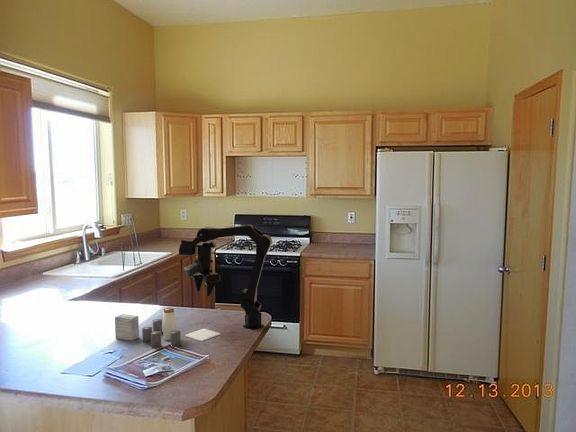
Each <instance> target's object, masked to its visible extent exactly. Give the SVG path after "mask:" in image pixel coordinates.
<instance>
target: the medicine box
mask: <svg viewBox="0 0 576 432" xmlns="http://www.w3.org/2000/svg"><path fill="white" fill-rule="evenodd" d="M139 324H140V323H139V315H132V314H126V313H123V314H122V313H121V314H119V315H117V316H115V317H114V326H115V327H114V331H115V339H118V340H126V341H134V340H136V339H138V338H139V337H140V325H139Z"/></svg>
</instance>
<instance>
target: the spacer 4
mask: <svg viewBox="0 0 576 432" xmlns="http://www.w3.org/2000/svg"><path fill="white" fill-rule="evenodd" d="M181 341H182V338H181V330H179V329H178V330H177V329H175V330H174V331H171V340H170V346H171V345H172V346H174V347H173V348H177V347H180V346H181V343H182V342H181ZM172 346H171V347H172Z"/></svg>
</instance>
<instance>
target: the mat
mask: <svg viewBox="0 0 576 432" xmlns="http://www.w3.org/2000/svg"><path fill="white" fill-rule="evenodd" d="M218 336H221V333H220V332H217V331H214V330H210V329H207V328H202V329H198V330H196V331H193V332H190V333H187V334H184V337H186V338H189V339H193V340H195V341H198V342H205V341H207V340H209V339H212V338H215V337H218Z"/></svg>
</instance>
